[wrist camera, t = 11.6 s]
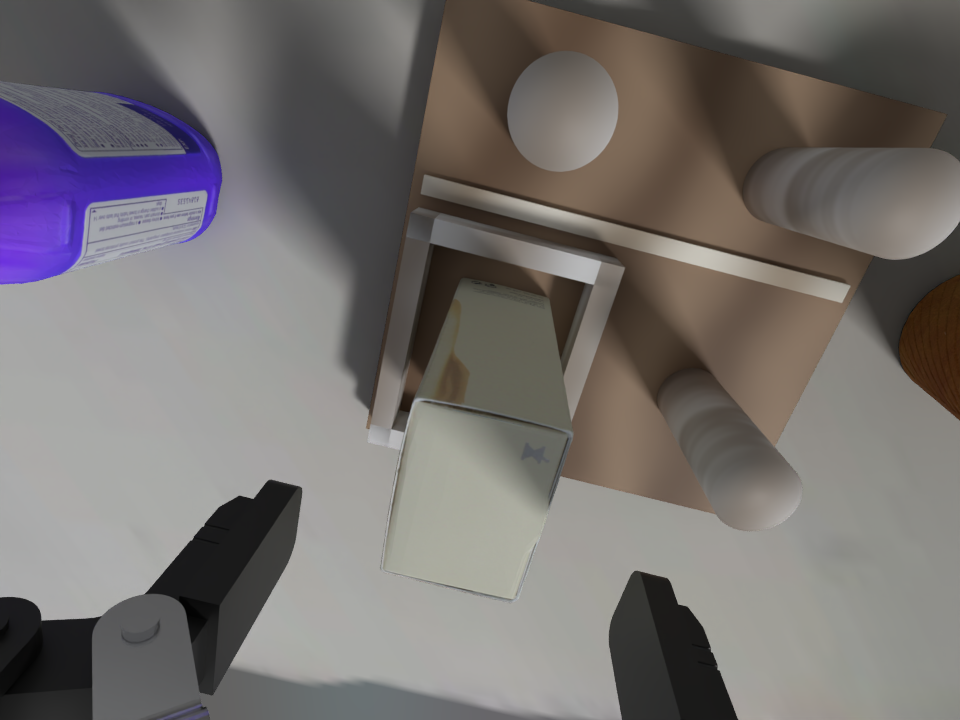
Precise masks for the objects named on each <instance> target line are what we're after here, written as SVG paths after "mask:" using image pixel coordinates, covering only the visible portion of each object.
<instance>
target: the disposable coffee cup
mask: <svg viewBox="0 0 960 720" xmlns="http://www.w3.org/2000/svg"><path fill="white" fill-rule="evenodd" d="M899 354H900V360H901V364H902V366H903V369H904V371H905V372H906V373H907V375H908V376H909V377H910V378H911V379H912V381H913V382H915V383H916V384H917V385H919V386H920V387H921V388H922V389H923V390H924V391H925V392H927V393H928V394H929V395H930V396H932V397H933V398H934V399H935V400H936V401H937V402H939V403H940V404H941V405H942V406H943V407H945V408H946V409H947V410H948V411H949V412H951V413H952V414H953V415H954V416H955V417H956V418H958V419H959V420H960V275H958V276H955V277H953V278H951V279H949V280H947V281H946V282H944V283H942V284H940V285H939V286H938V287H936V288H935V289H933V290H932V291H931V292H929V293H928V294H927V295H926V296H925V297H924V298H923V299H922V300H921V301H920V302H919V303H918V304H917V306H916V307H915V308H914V310H913V311H912V312H911V314H910V315H909V317H908V319H907V321H906V324H905V326H904V328H903V330H902V334H901V338H900V342H899Z"/></svg>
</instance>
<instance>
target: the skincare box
mask: <svg viewBox="0 0 960 720" xmlns="http://www.w3.org/2000/svg"><path fill="white" fill-rule="evenodd" d="M572 440H573V428H572V423H571V417H570V411H569V406H568V400H567V394H566V389H565V384H564V377H563V372H562V367H561V362H560V356H559V351H558V345H557V339H556V334H555V329H554V323H553V317H552V311H551V306H550V300H549V299H548V298H547V297H544V296H540V295H536V294H533V293H529V292H526V291H522V290H518V289H514V288H510V287H506V286H502V285H498V284H494V283H489V282H485V281H479V280H474V279H469V278H462V279H461V280H460V282H459V285H458V287H457V290H456V292H455V295H454V298H453V301H452V303H451V306H450V309H449V311H448V314H447V316H446V319H445V322H444V324H443V327H442V329H441V332H440V334H439V337H438V340H437V343H436V345H435V348H434V350H433V353H432V356H431V358H430V361H429V363H428V366H427V368H426V370H425V373H424V376H423V378H422V381H421V383H420V386H419V388H418V391H417V393H416V395H415V397H414V400H413V402H412V405H411V409H410V413H409V416H408V420H407V424H406V428H405V432H404V436H403V440H402V444H401V448H400V453H399V458H398V463H397V468H396V473H395V478H394V483H393V490H392V495H391V501H390V506H389V512H388V519H387V525H386V531H385V539H384V545H383V553H382V561H381V571H382V572H384V573H388V574H392V575H396V576H401V577H405V578H409V579H413V580H416V581H420V582H425V583H428V584H433V585H436V586H439V587H444V588H449V589H453V590H457V591H461V592H465V593H469V594H473V595H477V596H482V597H486V598H490V599H494V600H498V601H503V602H507V603H512V602H515V601H516V600H518V598H519V597H520V593H521V590H522V588H523V585H524V582H525V579H526V576H527V574H528V571H529V568H530V565H531V562H532V559H533V556H534V553H535V550H536V547H537V544H538V542H539V539H540V536H541V533H542V530H543V527H544V524H545V521H546V518H547V515H548V512H549V509H550V506H551V502H552V499H553V496H554V493H555V490H556V487H557V485H558V482H559V478H560V475H561V472H562V469H563V466H564V464H565V460H566V457H567V454H568V451H569V448H570V445H571V442H572Z"/></svg>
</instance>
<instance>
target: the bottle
mask: <svg viewBox="0 0 960 720" xmlns="http://www.w3.org/2000/svg"><path fill="white" fill-rule="evenodd" d="M221 183H222V172H221V165H220V161H219V156H218V154H217V153H216V151H215V149H214V148H213V146H212V145H211V144H210V143H209V142H208V141H207V139H206V138H205V137H204V136H202V135H201V134H200V133H199V132H198V131H196V130H195V129H193V128H192V127H191V126H189V125H188V124H186V123H184V122H183V121H181V120H179V119H178V118H176V117H174V116H172V115H170V114H169V113H167V112H164V111H162V110H160V109H158V108H155V107H153V106H150V105H148V104H145V103H142V102H139V101H136V100H133V99H130V98H126V97H123V96H118V95H114V94H109V93H104V92H87V91H79V90H70V89H62V88H54V87H44V86H35V85H27V84H20V83H12V82H4V81H0V284H15V283H21V284H22V283H27V282H35V281H39V280H43V279H46V278H50V277H53V276H57V275H60V274H64V273H68V272H71V271H75V270H78V269H82V268H86V267H90V266H93V265H97V264H101V263H105V262H108V261H112V260H116V259H119V258H123V257H127V256H131V255H134V254H138V253H142V252H146V251H150V250H154V249H157V248H161V247H165V246H168V245H172V244H176V243H183V242H187V241H190V240H192V239H194V238H196V237H197V236H199V235H200V234H202V233H203V232H204V231H205V230H206V229H207V228H208V226H209V225H210V223H211V222H212V220H213V218H214V216H215V214H216V210H217V203H218V197H219V193H220V187H221Z"/></svg>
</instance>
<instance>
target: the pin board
mask: <svg viewBox="0 0 960 720" xmlns="http://www.w3.org/2000/svg"><path fill="white" fill-rule="evenodd" d="M947 115H948V114H945V113H941V112H937V111H934V110H930V109H926V108H923V107H919V106H915V105H911V104H908V103H904V102H900V101H897V100H893V99H889V98H886V97H882V96H878V95H875V94H871V93H867V92H864V91H860V90H856V89H852V88H849V87H845V86H841V85H838V84H834V83H830V82H827V81H823V80H819V79H816V78H812V77H808V76H805V75H801V74H797V73H793V72H790V71H786V70H782V69H779V68H775V67H771V66H768V65H764V64H760V63H757V62H753V61H749V60H746V59H742V58H738V57H735V56H731V55H727V54H723V53H720V52H716V51H712V50H709V49H705V48H701V47H698V46H694V45H690V44H687V43H683V42H679V41H676V40H672V39H668V38H664V37H661V36H657V35H653V34H650V33H646V32H642V31H639V30H635V29H631V28H628V27H624V26H620V25H617V24H613V23H609V22H605V21H602V20H598V19H594V18H591V17H587V16H583V15H580V14H576V13H572V12H569V11H565V10H561V9H558V8H554V7H550V6H547V5H543V4H539V3H535V2H532V1H528V0H446V2H445V8H444V13H443V18H442V24H441V29H440V34H439V40H438V45H437V51H436V56H435V61H434V67H433V72H432V77H431V83H430V88H429V93H428V99H427V104H426V110H425V115H424V120H423V126H422V131H421V136H420V142H419V147H418V153H417V158H416V163H415V169H414V174H413V179H412V185H411V190H410V195H409V201H408V206H407V212H406V217H405V222H404V228H403V233H402V238H401V244H400V249H399V255H398V260H397V265H396V271H395V276H394V281H393V287H392V292H391V297H390V303H389V308H388V314H387V319H386V324H385V330H384V335H383V340H382V346H381V351H380V357H379V362H378V367H377V373H376V378H375V383H374V389H373V394H372V399H371V405H370V410H369V416H368V421H367V426H366V428H367V429H370V430H369V435H368V440H367V442H369V443H373V444H377V445H381V446H385V447H389V448H393V449H397V450H400V448H401V444H402V440H403V436H404V432H405V428H406V424H407V420H408V416H409V413H410V409H411V405H412V402H413V400H414V397H415V395H416V393H417V391H418V388H419V386H420V383H421V381H422V378H423V376H424V373H425V370H426V368H427V366H428V363H429V361H430V358H431V356H432V353H433V350H434V348H435V345H436V343H437V340H438V337H439V334H440V332H441V329H442V327H443V324H444V322H445V319H446V316H447V314H448V311H449V309H450V306H451V303H452V301H453V298H454V295H455V292H456V290H457V287H458V285H459V282H460V280H461V279H462V278H469V279H474V280H479V281H485V282H489V283H494V284H498V285H502V286H506V287H510V288H514V289H518V290H522V291H526V292H529V293H533V294H536V295H540V296H544V297H547V298H548V299H549V300H550V306H551V311H552V317H553V323H554V329H555V334H556V339H557V345H558V351H559V356H560V362H561V367H562V372H563V377H564V384H565V389H566V394H567V400H568V406H569V411H570V417H571V423H572V428H573V440H572V442H571V445H570V448H569V451H568V454H567V457H566V460H565V464H564V466H563V469H562V472H561V475H560V476H562V477H566V478H570V479H575V480H579V481H583V482H587V483H591V484H595V485H599V486H603V487H607V488H611V489H615V490H619V491H623V492H628V493H632V494H636V495H640V496H644V497H648V498H652V499H656V500H660V501H664V502H668V503H672V504H676V505H680V506H685V507H689V508H693V509H697V510H701V511H705V512H709V513H713V514H716V515H717V516H718V518H719V519H720V520H721V521H722V522H724V523H725V524H726V525H728V526H730V527H732V528H734V529H738V530H742V531H761V530H765V529H769V528H772V527H774V526H777V525H779V524H780V523H782V522H784V521H785V520H786V519H788V518H789V517H790V516H791V515H792V514H793V513H794V511H795V510H796V509H797V507H798V506H799V503H800V501H801V498H802V493H803V487H802V482H801V479H800V477H799V476H798V474H797V473H796V471H795V470H794V469H793V468H792V467H791V466H790V464H789V463H788V462H787V461H786V460H785V459H784V457H783V456H782V455H781V454H780V453H779V452H778V450H777V449H776V448H775V445H776V443H777V441H778V439H779V437H780V435H781V433H782V432H783V430H784V428H785V426H786V424H787V422H788V420H789V418H790V416H791V414H792V412H793V410H794V408H795V407H796V405H797V403H798V401H799V399H800V397H801V395H802V393H803V391H804V389H805V387H806V385H807V384H808V382H809V380H810V378H811V376H812V374H813V372H814V370H815V368H816V366H817V364H818V362H819V360H820V359H821V357H822V355H823V353H824V351H825V349H826V347H827V345H828V343H829V341H830V339H831V337H832V335H833V334H834V332H835V330H836V328H837V326H838V324H839V322H840V320H841V318H842V316H843V314H844V312H845V311H846V309H847V307H848V305H849V303H850V301H851V299H852V297H853V295H854V293H855V291H856V289H857V287H858V286H859V284H860V282H861V280H862V278H863V276H864V274H865V272H866V270H867V268H868V266H869V264H870V263H871V261H872V259H873V257H874V256H877V257H880V258H885V259H892V260H899V259H907V258H912V257H915V256H918V255H921V254H923V253H925V252H927V251H929V250H931V249H933V248H934V247H935V246H937V245H938V244H940V243H941V242H942V241H943V240H944V239H946V238H947V237H948V236H949V235H950V234H951V232H952V231H953V230H954V229H955V227H956V226H957V225H958V223H959V222H960V162H959V161H958V159H956V158H955V157H954V156H953V155H951V154H949V153H947V152H945V151H942V150H939V149H934V148H930V147H931V145H932V143H933V142H934V140H935V138H936V136H937V134H938V132H939V130H940V128H941V126H942V124H943V122H944V120H945V119H946V117H947Z"/></svg>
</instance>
